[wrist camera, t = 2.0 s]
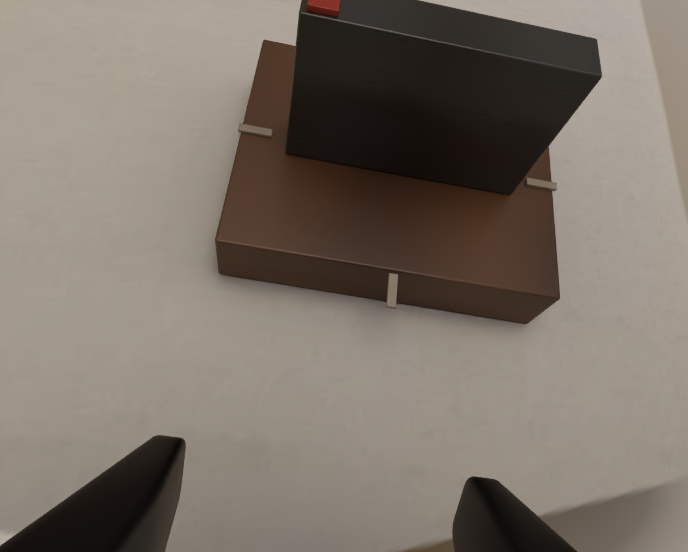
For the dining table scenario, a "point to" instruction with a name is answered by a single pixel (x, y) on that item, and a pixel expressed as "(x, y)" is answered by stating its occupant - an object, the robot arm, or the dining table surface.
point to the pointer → (433, 90)
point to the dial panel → (380, 223)
